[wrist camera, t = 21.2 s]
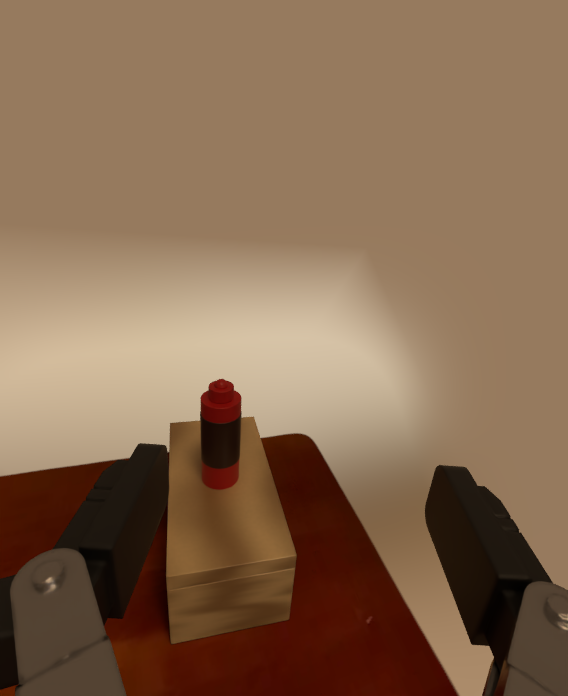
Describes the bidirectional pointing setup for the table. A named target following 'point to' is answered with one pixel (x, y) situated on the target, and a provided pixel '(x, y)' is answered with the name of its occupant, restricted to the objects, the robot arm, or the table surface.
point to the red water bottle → (220, 435)
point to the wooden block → (225, 542)
